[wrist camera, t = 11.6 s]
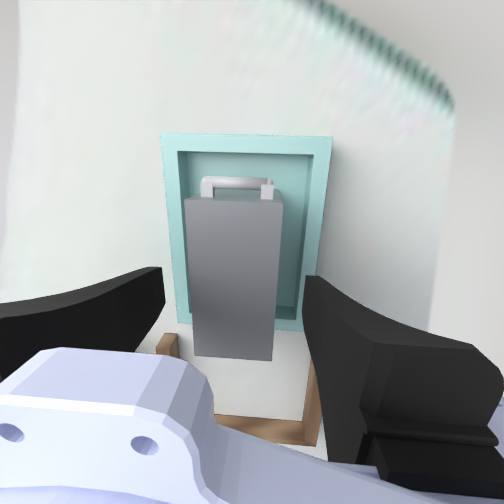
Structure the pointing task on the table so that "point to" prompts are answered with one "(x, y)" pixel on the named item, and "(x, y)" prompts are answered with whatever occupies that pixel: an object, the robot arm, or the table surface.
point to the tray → (285, 180)
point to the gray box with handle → (234, 266)
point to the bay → (268, 428)
